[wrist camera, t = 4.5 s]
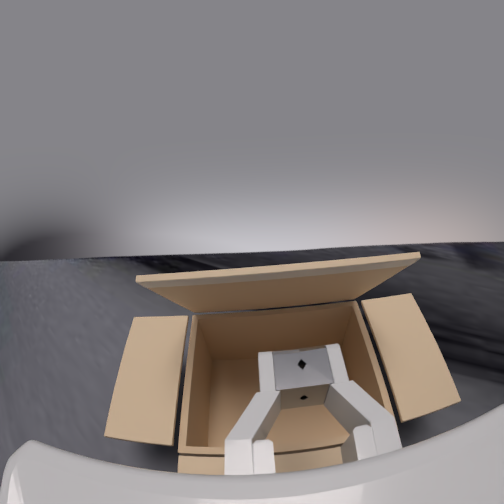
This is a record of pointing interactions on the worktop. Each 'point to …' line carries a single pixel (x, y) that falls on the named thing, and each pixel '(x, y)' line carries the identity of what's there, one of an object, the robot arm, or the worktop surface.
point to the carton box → (247, 382)
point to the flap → (276, 283)
